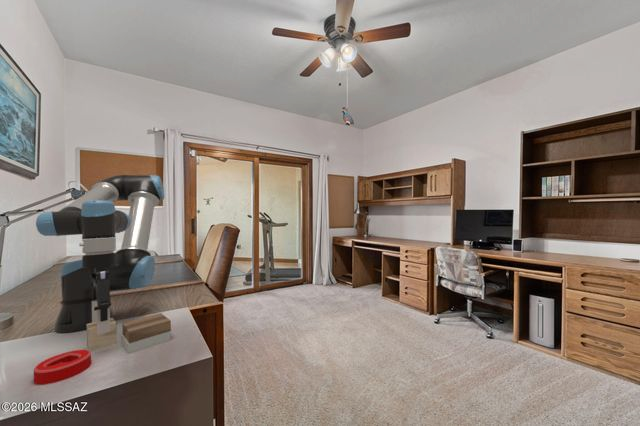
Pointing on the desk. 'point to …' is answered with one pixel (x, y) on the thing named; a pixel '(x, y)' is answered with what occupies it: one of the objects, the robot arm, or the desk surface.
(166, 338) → the slab bottom
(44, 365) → the decorative ornament
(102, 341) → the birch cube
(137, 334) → the slab top
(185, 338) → the desk surface
